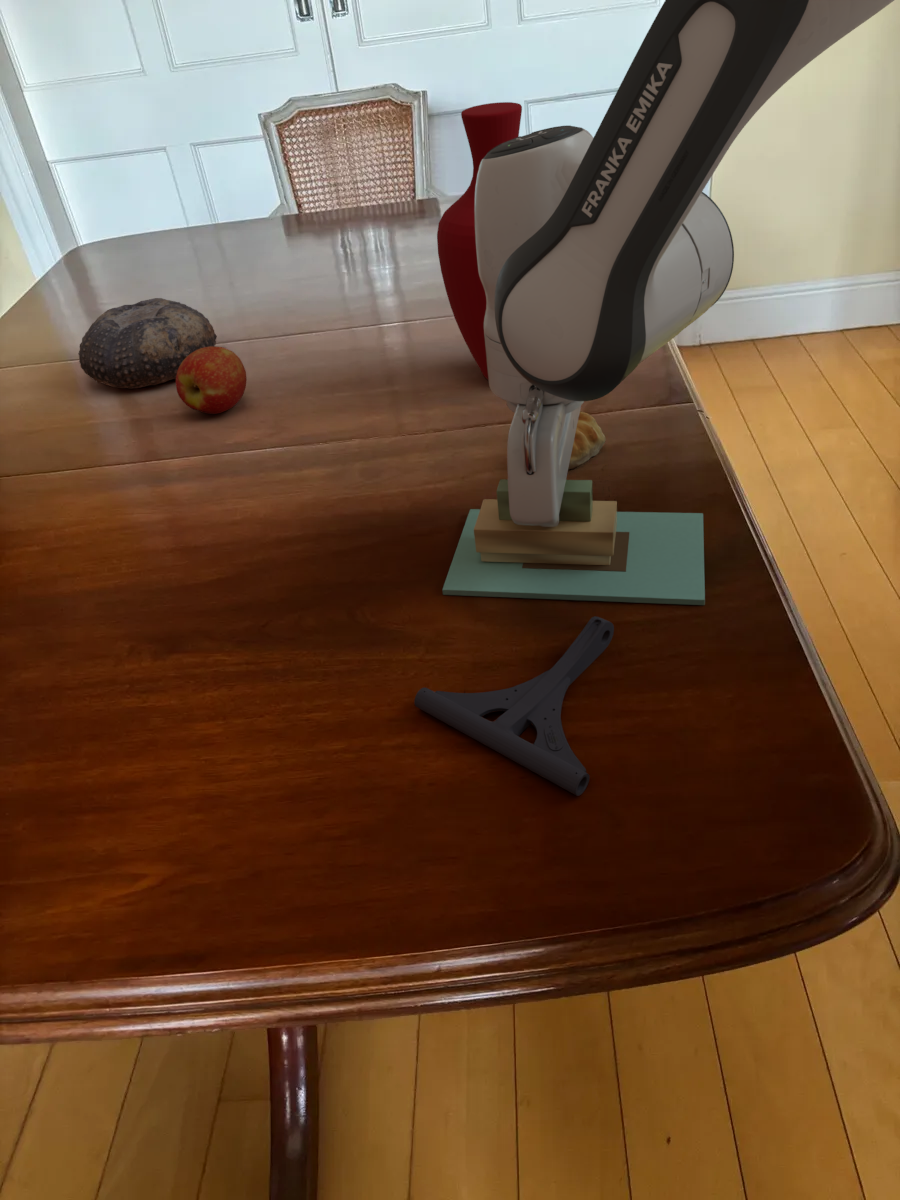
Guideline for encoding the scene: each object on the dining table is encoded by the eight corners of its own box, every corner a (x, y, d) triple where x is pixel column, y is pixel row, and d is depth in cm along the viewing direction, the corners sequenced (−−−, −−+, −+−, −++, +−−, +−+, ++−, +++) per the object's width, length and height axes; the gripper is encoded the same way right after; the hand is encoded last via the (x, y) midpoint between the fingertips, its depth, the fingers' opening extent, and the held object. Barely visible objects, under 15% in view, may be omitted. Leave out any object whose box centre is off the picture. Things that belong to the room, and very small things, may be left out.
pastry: (561, 487, 90) (560, 453, 88) (507, 471, 94) (504, 439, 91) (610, 446, 95) (609, 414, 93) (556, 433, 99) (555, 401, 97)
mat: (702, 518, 83) (703, 512, 83) (704, 605, 73) (705, 599, 73) (470, 514, 88) (470, 508, 88) (442, 594, 78) (442, 588, 78)
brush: (616, 535, 81) (617, 470, 77) (613, 568, 77) (613, 501, 73) (486, 532, 84) (480, 469, 80) (477, 563, 80) (470, 499, 76)
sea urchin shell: (144, 404, 117) (109, 329, 111) (73, 401, 128) (39, 334, 123) (249, 347, 127) (221, 277, 122) (174, 350, 139) (146, 286, 134)
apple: (176, 420, 113) (156, 360, 108) (216, 391, 119) (199, 333, 114) (227, 426, 110) (209, 365, 105) (265, 397, 116) (250, 337, 111)
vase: (432, 392, 111) (396, 124, 93) (483, 346, 121) (460, 95, 103) (542, 406, 105) (527, 121, 87) (586, 355, 115) (581, 90, 96)
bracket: (689, 673, 67) (690, 645, 65) (576, 800, 59) (574, 772, 57) (534, 609, 75) (532, 582, 74) (415, 713, 67) (410, 685, 65)
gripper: (571, 422, 61) (576, 584, 69) (594, 311, 77) (597, 454, 85) (480, 423, 62) (496, 581, 71) (521, 314, 78) (531, 454, 86)
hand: (551, 511), depth 78 cm, fingers closed on brush
